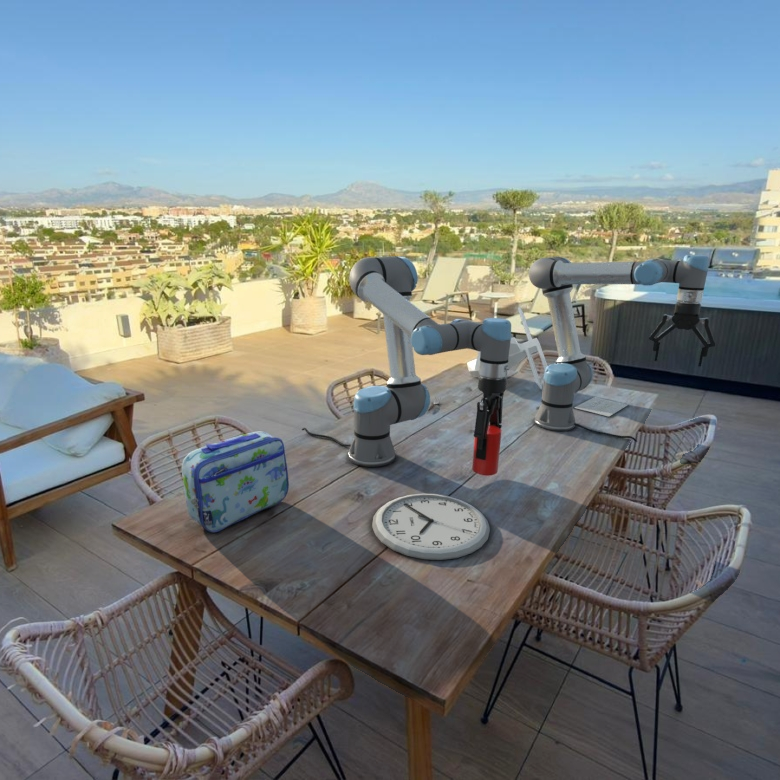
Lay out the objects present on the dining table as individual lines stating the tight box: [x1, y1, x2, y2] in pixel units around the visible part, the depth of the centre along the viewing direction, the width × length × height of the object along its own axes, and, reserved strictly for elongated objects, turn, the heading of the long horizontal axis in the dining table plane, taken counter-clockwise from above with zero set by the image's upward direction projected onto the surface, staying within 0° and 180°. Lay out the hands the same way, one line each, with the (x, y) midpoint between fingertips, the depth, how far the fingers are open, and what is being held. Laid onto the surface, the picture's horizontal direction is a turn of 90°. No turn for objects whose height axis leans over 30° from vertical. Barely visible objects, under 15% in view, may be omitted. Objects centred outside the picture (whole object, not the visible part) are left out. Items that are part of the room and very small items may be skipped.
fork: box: [427, 396, 442, 412], centre depth 222 cm, size 3×16×2 cm, turn 160°
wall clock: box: [371, 493, 491, 561], centre depth 134 cm, size 30×2×30 cm
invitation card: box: [573, 396, 629, 418], centre depth 226 cm, size 21×1×15 cm
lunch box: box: [181, 430, 290, 533], centre depth 135 cm, size 26×11×21 cm, turn 134°
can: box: [471, 424, 503, 477], centre depth 148 cm, size 7×7×13 cm
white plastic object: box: [466, 306, 549, 390], centre depth 259 cm, size 37×45×31 cm
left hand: (486, 453), depth 148 cm, fingers closed on can, 7 cm apart
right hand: (677, 362), depth 184 cm, fingers open, 13 cm apart
